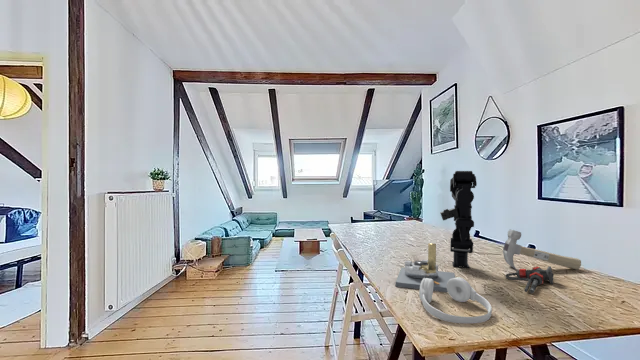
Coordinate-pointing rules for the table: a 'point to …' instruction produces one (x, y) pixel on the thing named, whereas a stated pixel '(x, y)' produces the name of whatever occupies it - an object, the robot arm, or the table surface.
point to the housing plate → (410, 282)
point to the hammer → (535, 253)
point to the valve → (532, 277)
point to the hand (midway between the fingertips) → (462, 241)
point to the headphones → (459, 292)
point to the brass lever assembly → (423, 265)
